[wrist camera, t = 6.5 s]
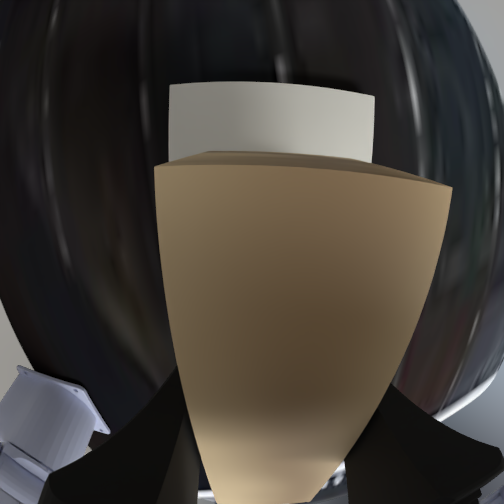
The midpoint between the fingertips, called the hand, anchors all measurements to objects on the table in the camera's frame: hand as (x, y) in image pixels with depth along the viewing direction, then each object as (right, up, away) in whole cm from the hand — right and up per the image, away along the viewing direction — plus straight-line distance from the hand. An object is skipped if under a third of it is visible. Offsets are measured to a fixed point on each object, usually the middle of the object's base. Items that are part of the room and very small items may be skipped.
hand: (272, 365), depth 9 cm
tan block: (0, +1, +1) cm, 1 cm away
